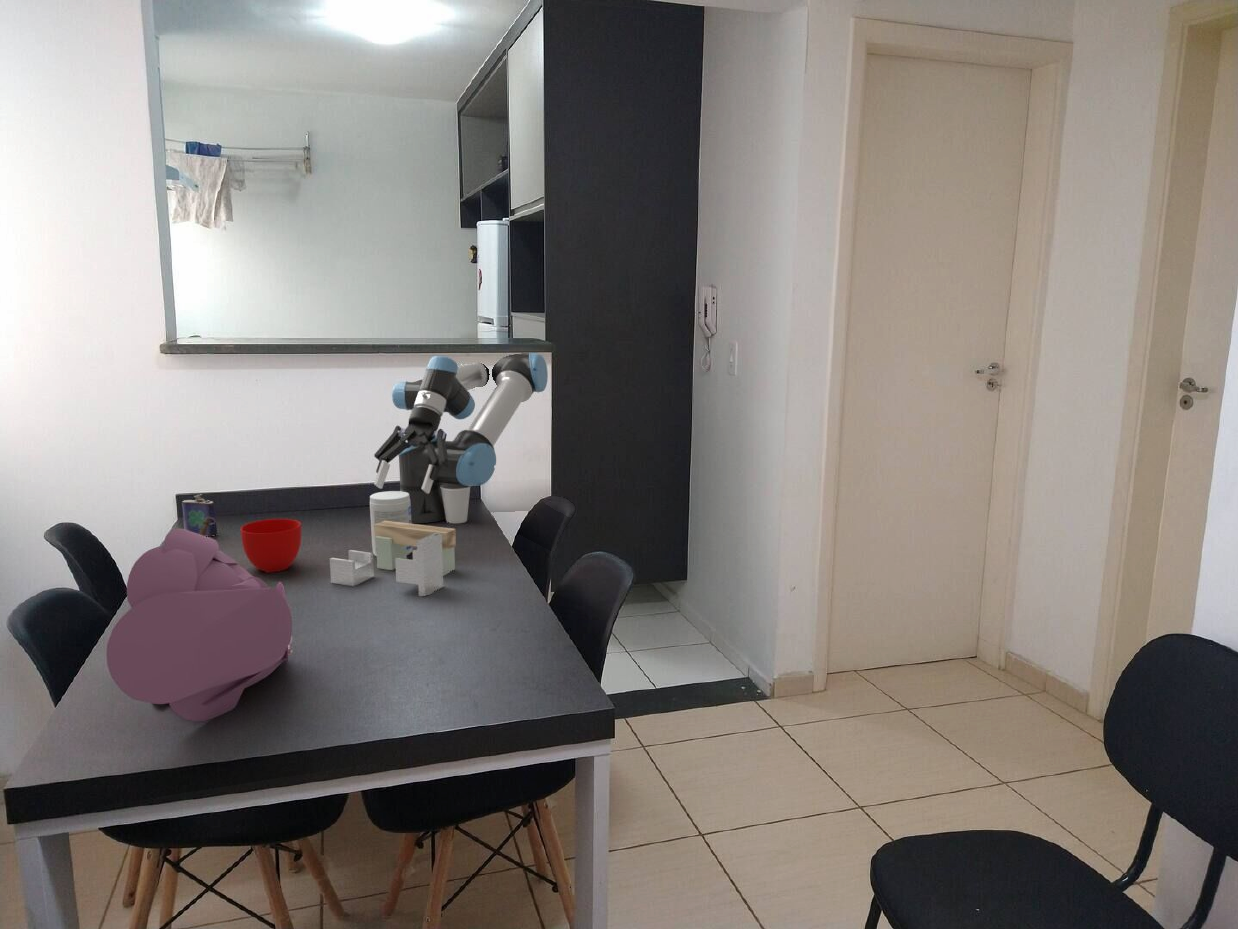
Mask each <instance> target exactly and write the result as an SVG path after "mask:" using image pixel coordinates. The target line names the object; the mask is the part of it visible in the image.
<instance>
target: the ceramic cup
mask: <svg viewBox="0 0 1238 929" xmlns="http://www.w3.org/2000/svg"><path fill="white" fill-rule="evenodd" d="M240 536H241V537H240V538H241V543H242V548H243V550H244V553H245V555H246V558H247V560H248V561H249V562H250V563H251V564H252V565H253V566H254V567H255V568H256V569H258V570H257V571H259V570H261V571H260V572H262V571H266V572H265V573H277V572H280V571H281V570H282V571H285V570H287V569H288V568H289V567H290V566H291V565H292V563H293V562H294V560H296V557H297V556H298V554H299V551H300V548H301V541H302V524H301V522H300V521H298V520H295V519H292V518H291V519H289V518H270V519H262V520H256V521H252V522H249V523H245V524H244V525H242V526H241V527H240ZM275 571H276V572H275Z"/></svg>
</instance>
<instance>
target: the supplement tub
mask: <svg viewBox="0 0 1238 929" xmlns="http://www.w3.org/2000/svg"><path fill="white" fill-rule="evenodd" d="M369 514H370V531H371V533H370V534H371V547H372V548H371V549H372V550H371V551H372V553H373V556H375V557H377V550H376V543H375V527H374V525H375V524H377V523H380V522H383V521H392V522H401V523H409V524H413V523H411V504H410V497H409V493H407V492H402V491H400V490H389V491H380V492H375V493H372V494H371V495H370V496H369ZM413 547H414V546H407V545H406V550H407V556H409V555H410V554H411V553H413V550H414V548H413Z"/></svg>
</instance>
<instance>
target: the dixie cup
mask: <svg viewBox="0 0 1238 929" xmlns="http://www.w3.org/2000/svg"><path fill="white" fill-rule="evenodd" d="M471 487H472V486H465V485H459V484H450V483H443V485H441V486H440V488H441V491H442V497H443V503H444V510H445V516H446V519H445V522H446V521H447V522H446V523H448V522H449V523H448V524H463V523H466V522H467V521H468V513H469V512H468V511H469V501H470V495H471V494H470V492H471Z"/></svg>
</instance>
